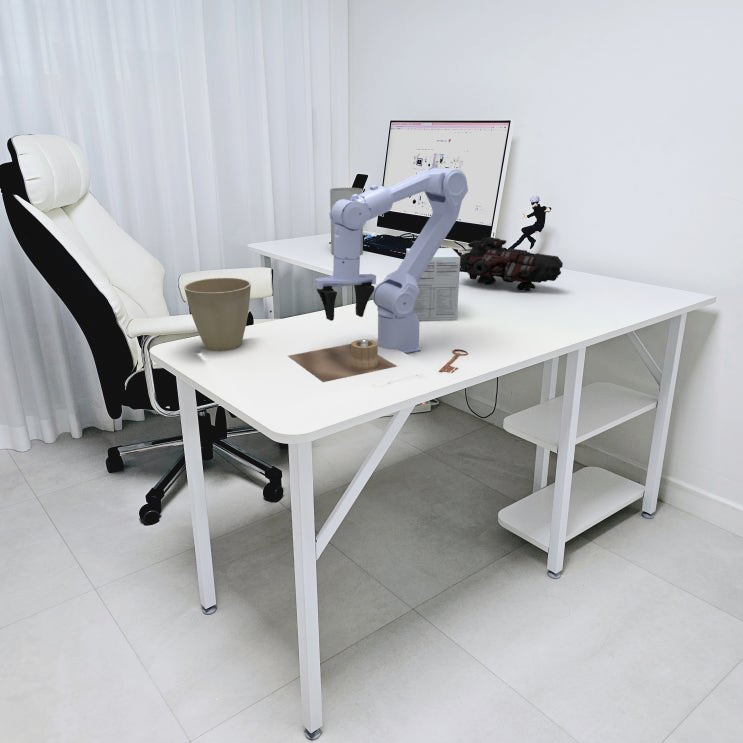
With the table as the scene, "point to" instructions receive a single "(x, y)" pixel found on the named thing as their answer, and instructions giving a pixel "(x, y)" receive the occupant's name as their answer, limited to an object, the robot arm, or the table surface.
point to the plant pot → (219, 310)
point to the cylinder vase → (341, 194)
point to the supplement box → (439, 287)
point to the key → (450, 368)
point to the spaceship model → (508, 264)
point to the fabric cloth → (334, 363)
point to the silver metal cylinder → (364, 342)
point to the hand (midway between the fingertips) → (344, 317)
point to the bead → (364, 355)
